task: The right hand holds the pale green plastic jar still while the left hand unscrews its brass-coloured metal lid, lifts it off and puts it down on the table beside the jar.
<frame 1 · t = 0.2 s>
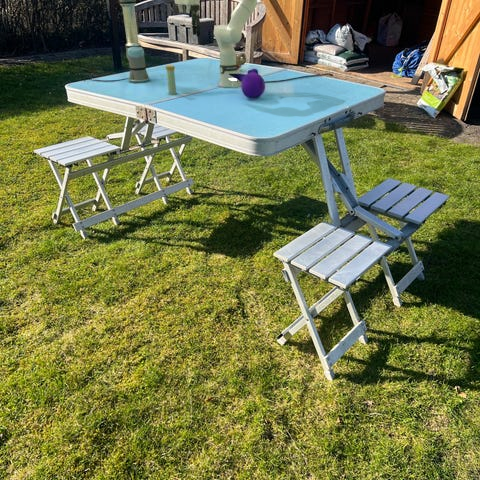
left hand: (196, 35, 349), 28 cm above the table, tool pointing down, fingers open, 13 cm apart
right hand: (184, 12, 282), 48 cm above the table, tool pointing down, fingers open, 8 cm apart
lid: (170, 66, 292), point 17 cm above the table, screwed on, not yet turned
toy: (248, 96, 289), on the table
beige patterned figurine: (234, 70, 369), on the table
jar: (172, 93, 300), on the table
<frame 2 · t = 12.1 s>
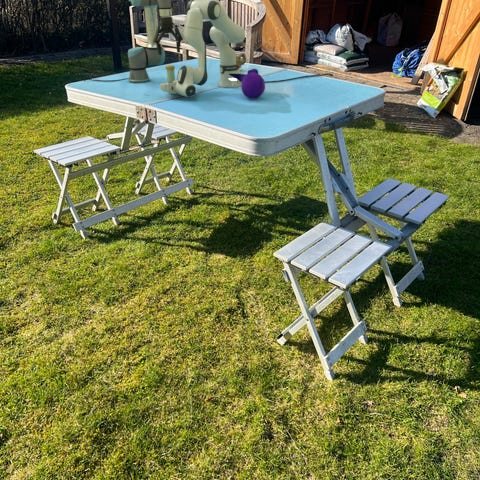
left hand: (169, 53, 288), 25 cm above the table, tool pointing down, fingers open, 13 cm apart
right hand: (171, 83, 298), 7 cm above the table, tool horizontal, fingers closed on jar, 5 cm apart
jar: (172, 93, 300), on the table, touching right hand
everything else where it was.
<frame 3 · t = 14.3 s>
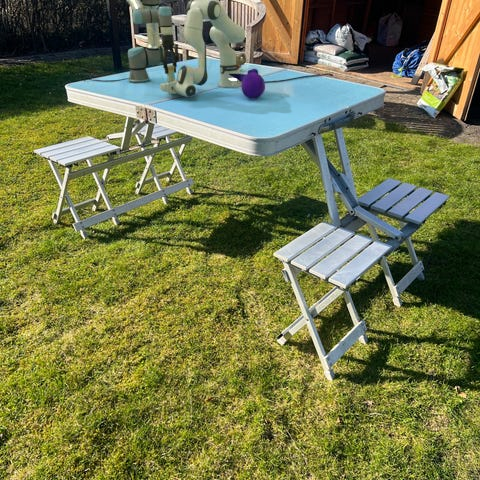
left hand: (170, 72, 294), 13 cm above the table, tool pointing down, fingers closed on lid, 5 cm apart
right hand: (171, 83, 298), 7 cm above the table, tool horizontal, fingers closed on jar, 5 cm apart
lid: (170, 66, 292), point 17 cm above the table, screwed on, not yet turned, touching left hand
jar: (172, 93, 300), on the table, touching right hand
everything else where it was.
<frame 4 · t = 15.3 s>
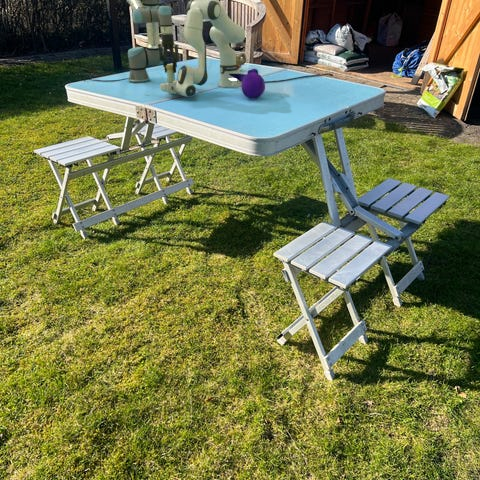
left hand: (170, 72, 294), 14 cm above the table, tool pointing down, fingers closed on lid, 5 cm apart
right hand: (171, 83, 298), 7 cm above the table, tool horizontal, fingers closed on jar, 5 cm apart
lid: (170, 65, 292), point 18 cm above the table, off its thread, touching left hand
jar: (172, 93, 300), on the table, touching right hand
everything else where it was.
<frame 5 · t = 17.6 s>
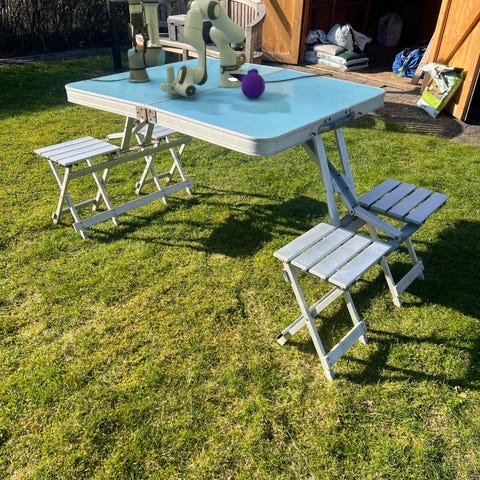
left hand: (141, 52, 288), 26 cm above the table, tool pointing down, fingers closed on lid, 5 cm apart
right hand: (171, 83, 298), 7 cm above the table, tool horizontal, fingers closed on jar, 5 cm apart
lid: (140, 46, 286), point 30 cm above the table, off its thread, touching left hand
jar: (172, 93, 300), on the table, touching right hand
everything else where it was.
when the left hand's fingers open (0 cm above the table, at t = 22.6 s): lid drops 3 cm, point 2 cm above the table.
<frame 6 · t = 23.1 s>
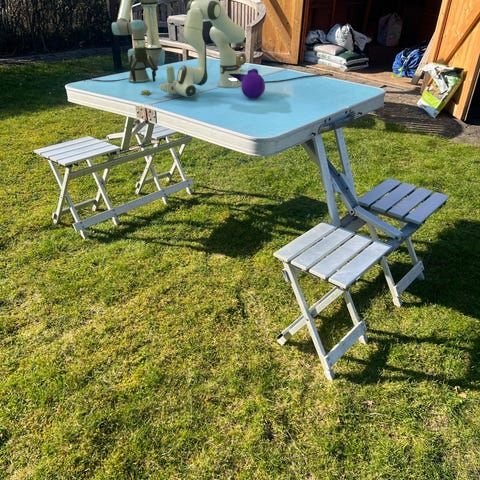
left hand: (144, 81, 298), 8 cm above the table, tool pointing down, fingers open, 13 cm apart
right hand: (171, 83, 298), 7 cm above the table, tool horizontal, fingers closed on jar, 5 cm apart
lid: (145, 91, 300), point 2 cm above the table, off its thread
jar: (172, 93, 300), on the table, touching right hand
everything else where it was.
when the right hand's fingers open (7 cm above the table, at t = 23.4 s): jar stays where it is, on the table.
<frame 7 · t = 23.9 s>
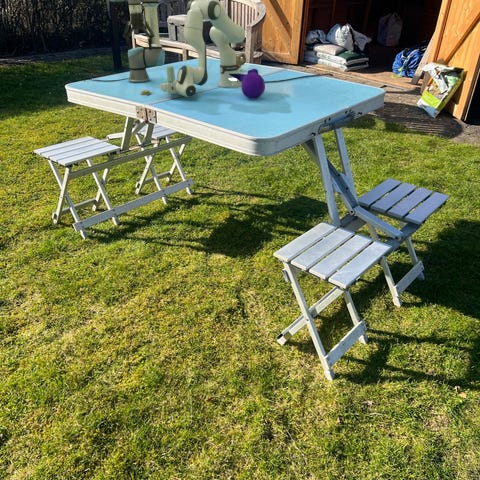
left hand: (140, 49, 287), 28 cm above the table, tool pointing down, fingers open, 13 cm apart
right hand: (171, 83, 298), 7 cm above the table, tool horizontal, fingers open, 8 cm apart
jar: (172, 93, 300), on the table
everything else where it was.
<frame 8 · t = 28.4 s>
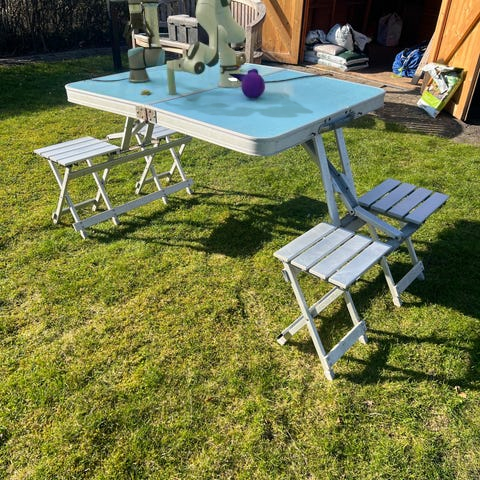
left hand: (140, 49, 287), 28 cm above the table, tool pointing down, fingers open, 13 cm apart
right hand: (177, 61, 280), 22 cm above the table, tool horizontal, fingers open, 8 cm apart
nothing on the table moved.
at the end: lid came off its thread; lid point 1.6 cm above the table; the left hand is holding nothing; the right hand is holding nothing; jar tilted 0°; jar moved 0.0 cm from its start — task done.
